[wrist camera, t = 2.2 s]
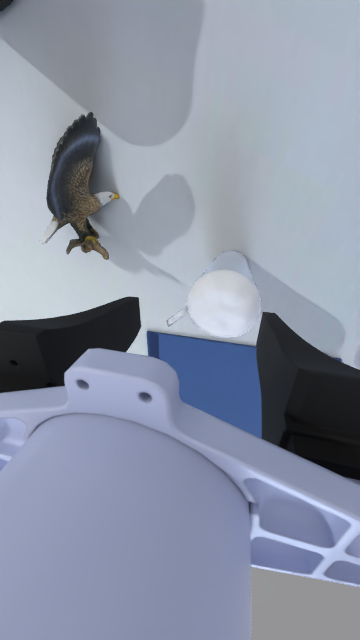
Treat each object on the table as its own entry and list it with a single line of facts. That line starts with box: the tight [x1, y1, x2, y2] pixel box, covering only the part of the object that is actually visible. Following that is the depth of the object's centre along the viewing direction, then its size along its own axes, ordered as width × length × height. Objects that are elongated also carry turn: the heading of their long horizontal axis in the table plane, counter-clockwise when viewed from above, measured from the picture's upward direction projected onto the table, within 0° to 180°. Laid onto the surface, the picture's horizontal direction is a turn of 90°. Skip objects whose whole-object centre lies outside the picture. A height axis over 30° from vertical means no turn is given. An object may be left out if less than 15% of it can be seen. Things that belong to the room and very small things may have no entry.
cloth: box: [147, 331, 342, 439], centre depth 29 cm, size 20×14×1 cm
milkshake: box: [167, 250, 261, 338], centre depth 17 cm, size 4×5×10 cm
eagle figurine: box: [40, 112, 119, 260], centre depth 19 cm, size 8×7×9 cm
